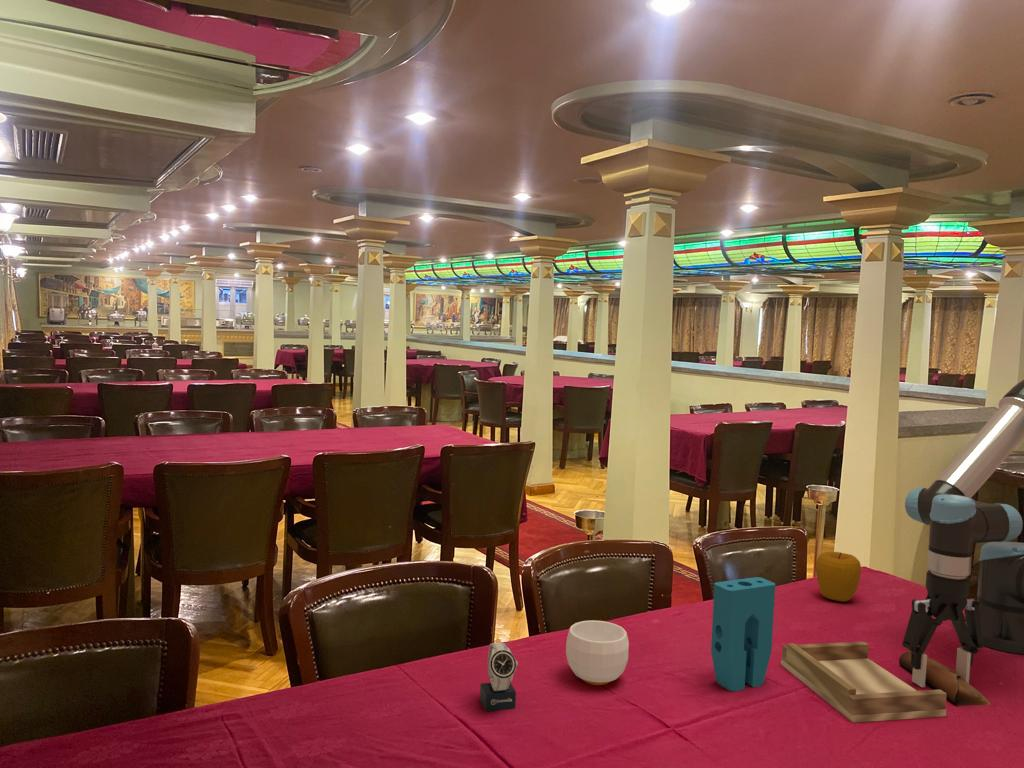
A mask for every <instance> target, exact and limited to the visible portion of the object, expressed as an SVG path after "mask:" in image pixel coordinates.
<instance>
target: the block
mask: <svg viewBox="0 0 1024 768" xmlns="http://www.w3.org/2000/svg"><path fill="white" fill-rule="evenodd" d="M713 587H714V588H713V602H712V603H713V604H712V605H713V606H712V623H711V643H710V653H711V659H712V665H713V670H714V675H715V680H716V681H715V682H716V683H717V684H718V685H720V686H721V687H723V688H725V689H726V690H728V691H729V692H738V691H743V690H745V687H746V685H748V686H750V687H752V688H757V687H761V686H764V682H765V680H766V679H765V678H766V675H767V671H768V666H769V663H770V658H771V654H772V652H773V651H772V649H773V631H774V617H775V601H776V600H775V597H776V583H775V582H772V581H771V580H768V579H765V578H763V577H759V576H758V577H757V576H755V577H747V578H740V579H733V580H732V579H731V580H725V581H724V580H723V581H717V582H714V585H713ZM745 684H746V685H745Z"/></svg>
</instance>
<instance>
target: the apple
mask: <svg viewBox="0 0 1024 768" xmlns="http://www.w3.org/2000/svg"><path fill="white" fill-rule="evenodd" d="M818 555H819V556H818V558H817V559H816V563H815V564H816V565H815V575H816V576H815V577H816V580H817V582H818V583H817V584H818V587H819V590H820V593H821V594H822V596H823V597H825V598H826V599H828V600H832V601H837V602H848V601H850V600H851V599H852V598H853V597H854V596H855V594H856V592H857V590H858V587H859V583H860V579H861V575H862V565H861V562H860V560H859V559H858V558H857V557H856V556H854V555H852V554H851V553H850V554H849V553H844V552H840V551H824V552H823V553H820V554H818Z"/></svg>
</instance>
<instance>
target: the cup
mask: <svg viewBox="0 0 1024 768" xmlns="http://www.w3.org/2000/svg"><path fill="white" fill-rule="evenodd" d="M565 645H566V646H565V654H566V659H567V663H568V666H569V668H570V669H571V671H572V672H573V673H574V675H575V676H576V677H577V678H580V679H582V681H584V682H585V683H587V684H589V685H593V686H604V685H607V684H609V683H610V682H613V681H615V680H617V679H618V678H619V677H620V676H621V675H622V674H623V673H624V672H625V669H626V666H627V664H628V662H629V661H628V660H629V649H630V648H629V646H630V641H629V637H628V633H627V631H626V630H625V629H624V627H622V626H620V625H618V624H616V623H613V622H608V621H605V620H597V619H596V620H594V619H593V620H583V621H579V622H575V623H574V624H572V625H571V626H570V627H569V630H568V634H567V638H566V643H565Z"/></svg>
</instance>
